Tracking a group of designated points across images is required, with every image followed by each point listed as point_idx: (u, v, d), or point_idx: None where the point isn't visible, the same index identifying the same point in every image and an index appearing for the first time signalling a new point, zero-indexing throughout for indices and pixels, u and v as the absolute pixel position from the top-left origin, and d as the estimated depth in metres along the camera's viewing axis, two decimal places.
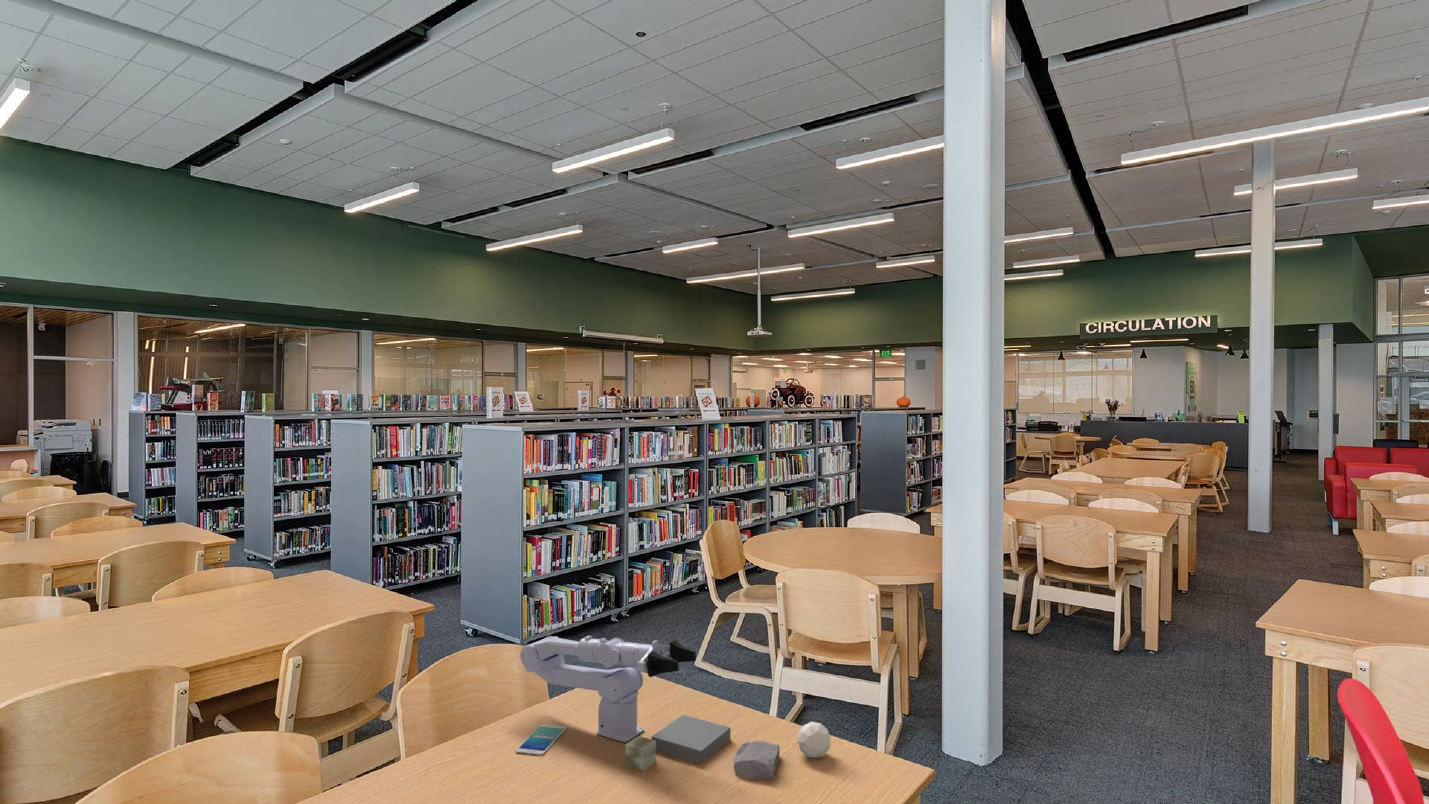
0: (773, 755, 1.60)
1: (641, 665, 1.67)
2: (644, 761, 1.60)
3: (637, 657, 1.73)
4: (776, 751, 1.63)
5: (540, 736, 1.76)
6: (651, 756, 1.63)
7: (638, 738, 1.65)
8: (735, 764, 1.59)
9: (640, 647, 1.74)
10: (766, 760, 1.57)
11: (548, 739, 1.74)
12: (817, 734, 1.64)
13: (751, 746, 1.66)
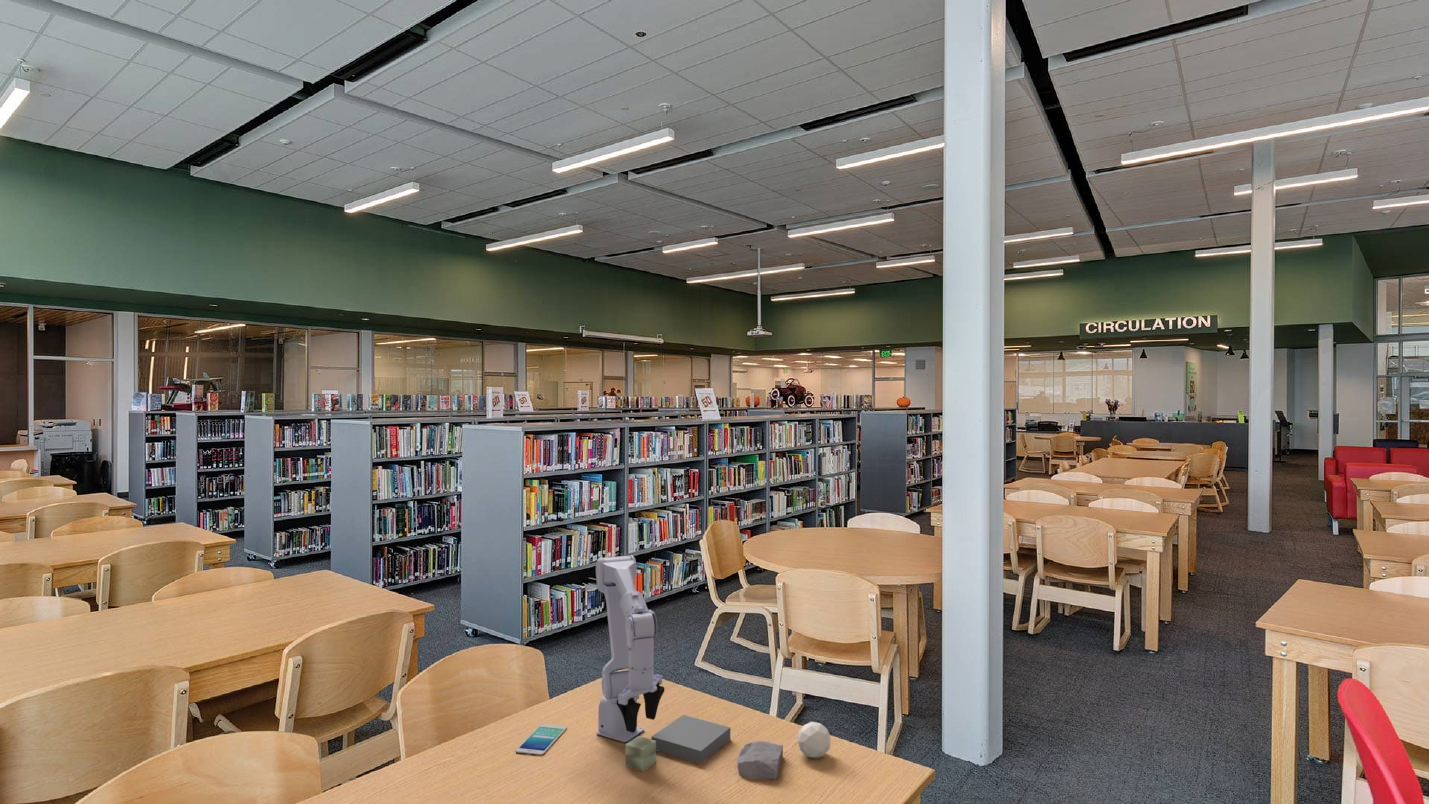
0: (777, 755, 1.60)
1: (623, 701, 1.57)
2: (644, 761, 1.60)
3: (635, 674, 1.61)
4: (779, 751, 1.63)
5: (540, 736, 1.76)
6: (651, 756, 1.63)
7: (638, 738, 1.65)
8: (739, 765, 1.59)
9: (646, 674, 1.61)
10: (770, 761, 1.57)
11: (549, 739, 1.74)
12: (817, 734, 1.64)
13: (754, 746, 1.65)
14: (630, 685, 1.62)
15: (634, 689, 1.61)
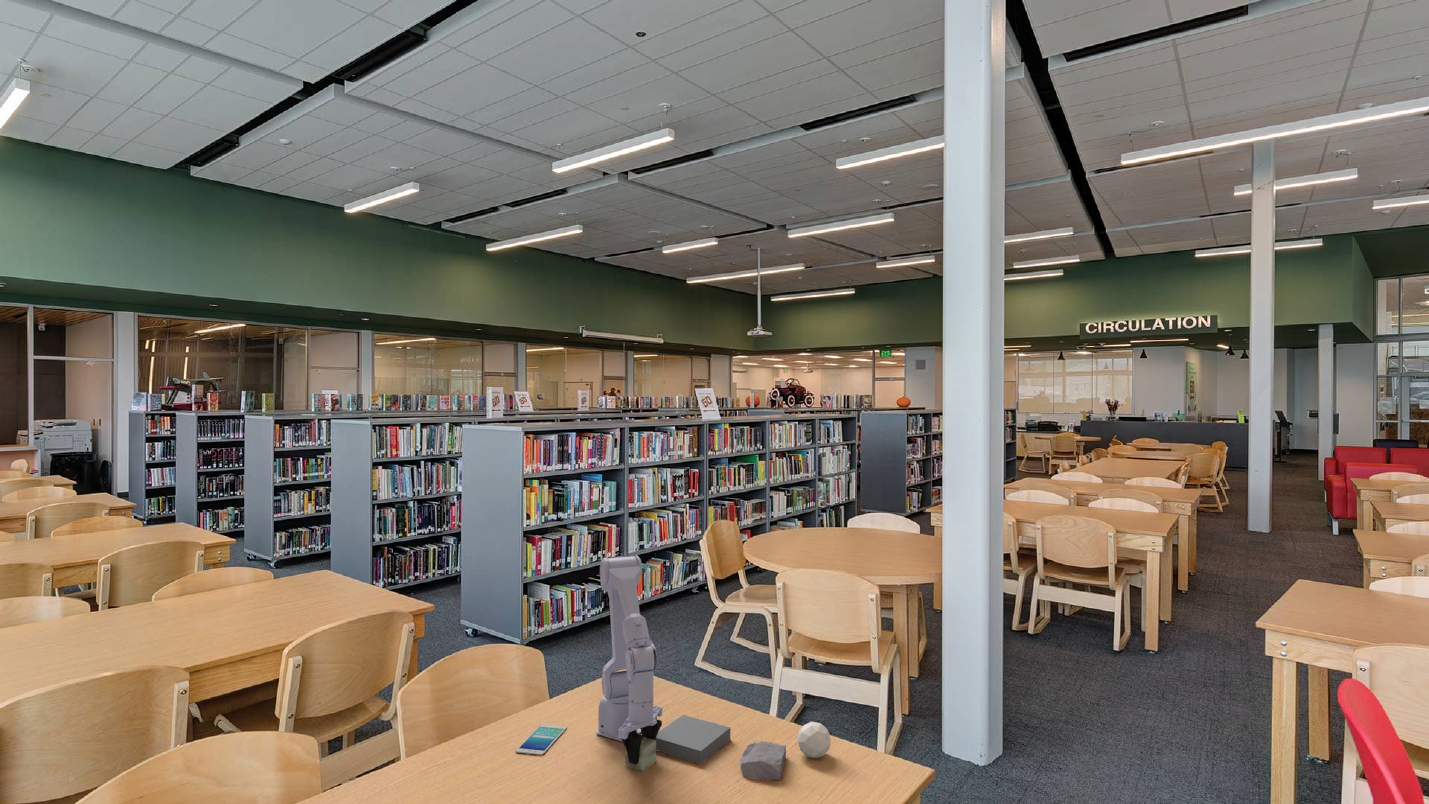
0: (780, 756, 1.60)
1: (623, 736, 1.57)
2: (644, 760, 1.60)
3: (635, 708, 1.61)
4: (783, 752, 1.63)
5: (540, 736, 1.76)
6: (651, 756, 1.63)
7: None
8: (742, 765, 1.58)
9: (646, 707, 1.61)
10: (773, 761, 1.57)
11: (548, 739, 1.74)
12: (817, 734, 1.64)
13: (757, 747, 1.65)
14: (630, 718, 1.62)
15: (634, 723, 1.61)
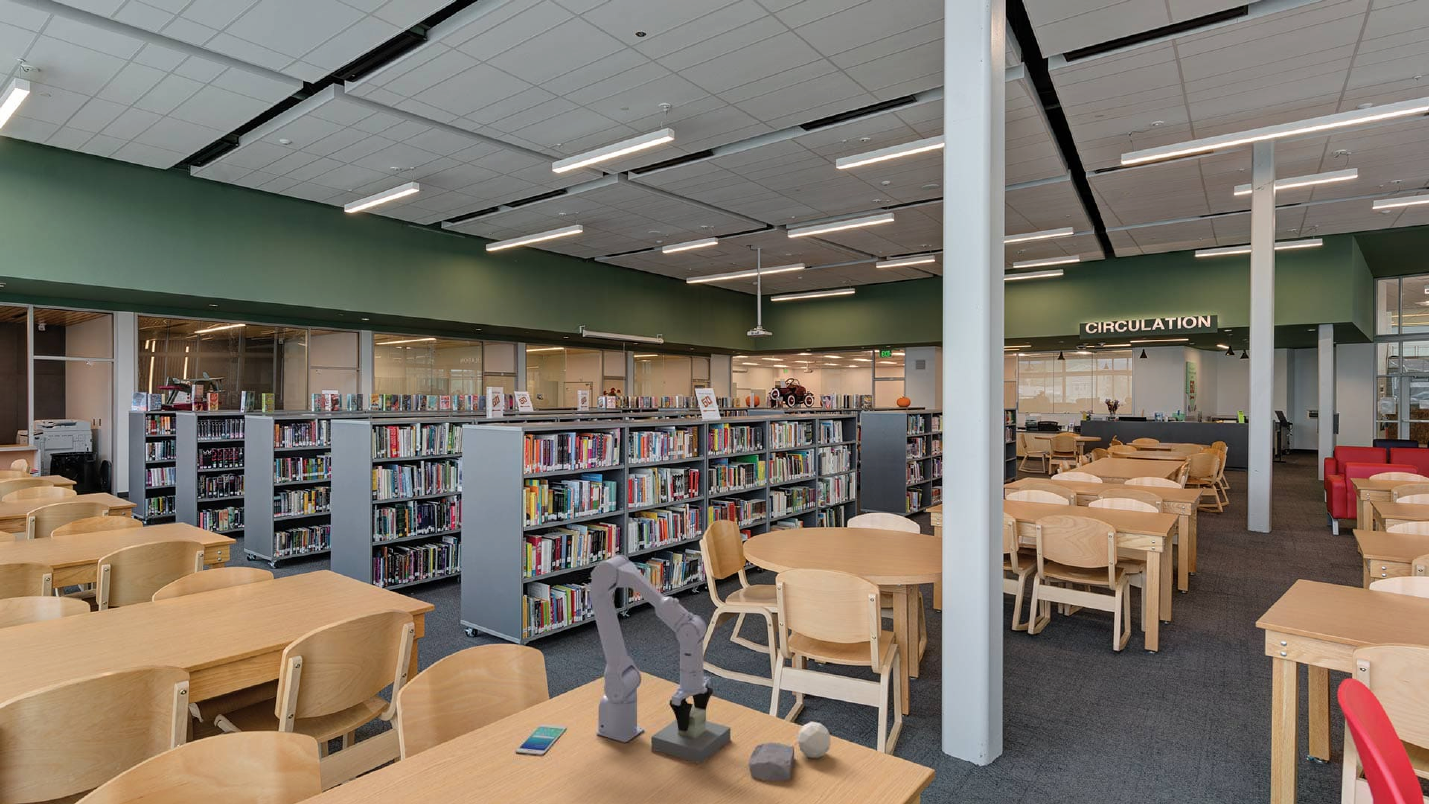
0: (789, 757, 1.60)
1: (676, 702, 1.66)
2: (696, 728, 1.70)
3: (687, 677, 1.70)
4: (791, 753, 1.63)
5: (540, 736, 1.76)
6: (702, 724, 1.72)
7: None
8: (751, 766, 1.58)
9: (697, 676, 1.70)
10: (782, 762, 1.57)
11: (549, 739, 1.74)
12: (817, 734, 1.64)
13: (766, 748, 1.65)
14: (682, 687, 1.71)
15: (686, 690, 1.70)
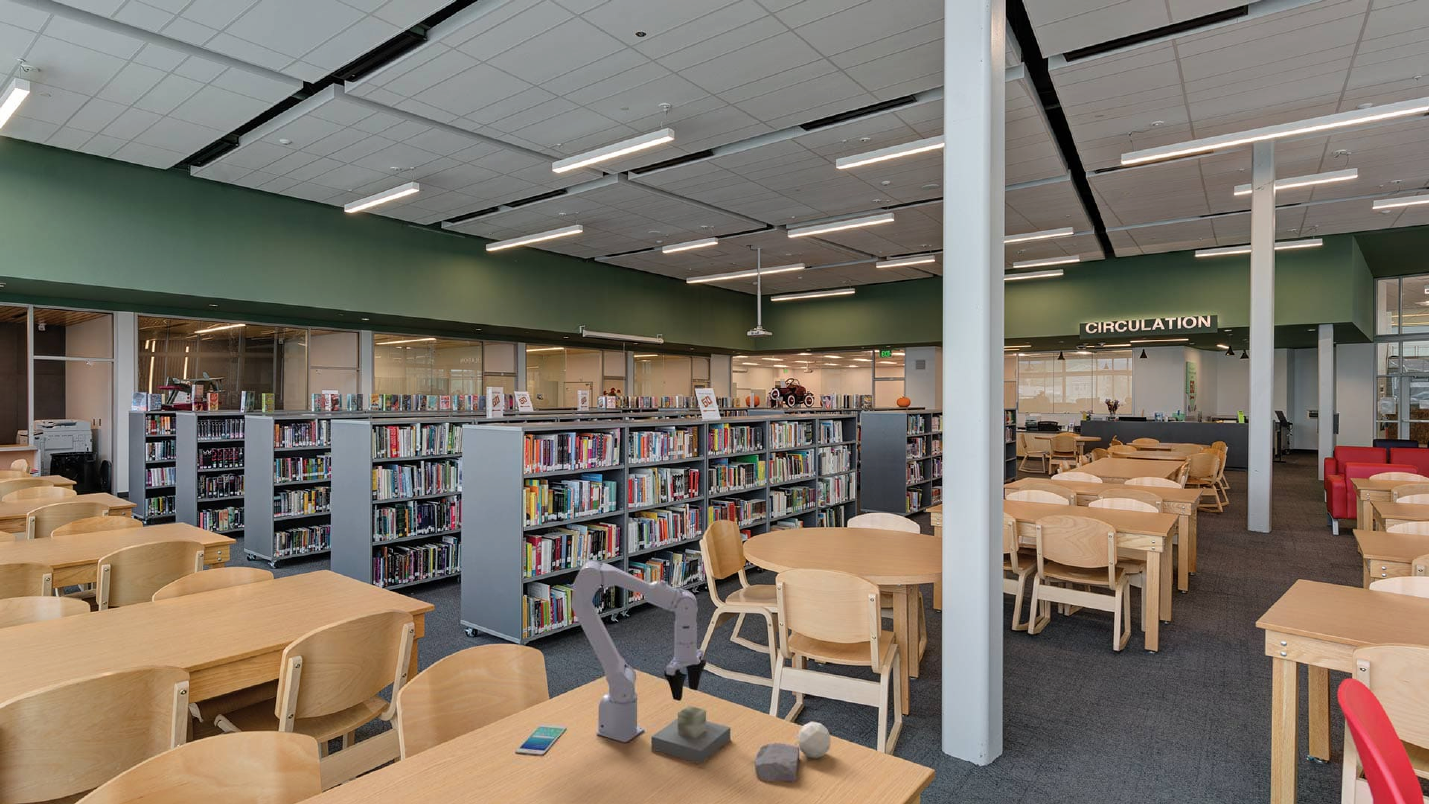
0: (794, 757, 1.59)
1: (671, 672, 1.73)
2: (696, 728, 1.70)
3: (681, 648, 1.77)
4: (797, 753, 1.63)
5: (540, 736, 1.76)
6: (702, 724, 1.72)
7: (689, 707, 1.75)
8: (757, 767, 1.58)
9: (690, 648, 1.77)
10: (788, 763, 1.56)
11: (549, 739, 1.74)
12: (817, 734, 1.64)
13: (771, 748, 1.64)
14: (676, 658, 1.78)
15: (680, 661, 1.77)
